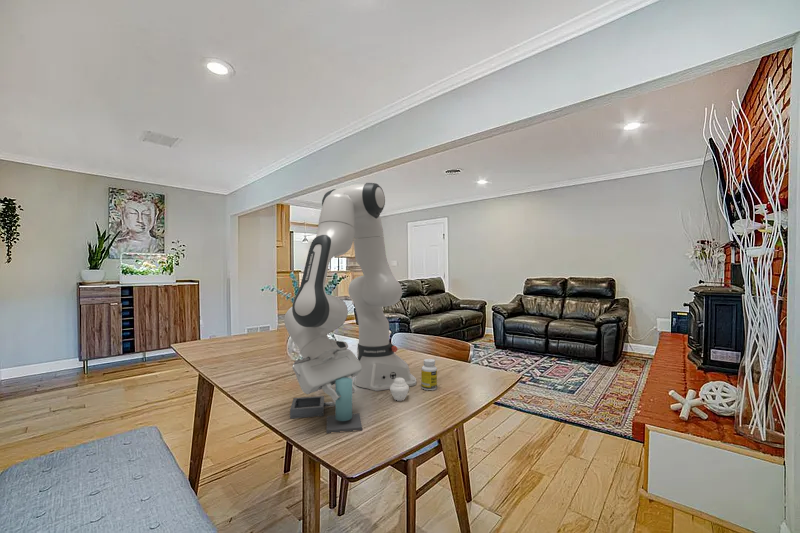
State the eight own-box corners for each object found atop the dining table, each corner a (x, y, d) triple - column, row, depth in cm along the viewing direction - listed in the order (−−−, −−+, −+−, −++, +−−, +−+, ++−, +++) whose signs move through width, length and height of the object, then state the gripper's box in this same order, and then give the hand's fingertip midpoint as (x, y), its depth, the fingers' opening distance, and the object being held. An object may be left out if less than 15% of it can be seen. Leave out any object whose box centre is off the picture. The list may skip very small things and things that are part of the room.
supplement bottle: (432, 392, 119) (432, 363, 119) (418, 389, 122) (418, 360, 122) (439, 387, 124) (439, 359, 124) (425, 384, 126) (425, 357, 127)
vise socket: (345, 402, 110) (345, 394, 110) (346, 414, 101) (346, 405, 101) (293, 406, 107) (293, 397, 107) (290, 418, 98) (290, 409, 98)
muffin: (410, 402, 110) (410, 379, 110) (391, 403, 109) (391, 380, 109) (407, 395, 116) (407, 373, 116) (388, 396, 115) (388, 374, 115)
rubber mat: (359, 416, 100) (359, 413, 100) (362, 430, 91) (362, 427, 91) (326, 418, 98) (326, 415, 98) (326, 433, 89) (326, 430, 89)
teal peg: (351, 413, 97) (351, 377, 97) (352, 420, 93) (352, 382, 93) (335, 414, 96) (335, 378, 96) (335, 421, 92) (335, 383, 92)
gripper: (295, 354, 90) (322, 401, 84) (349, 341, 107) (375, 379, 101) (284, 369, 92) (309, 415, 87) (339, 353, 109) (363, 391, 104)
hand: (345, 395), depth 94 cm, fingers closed on teal peg, 4 cm apart
